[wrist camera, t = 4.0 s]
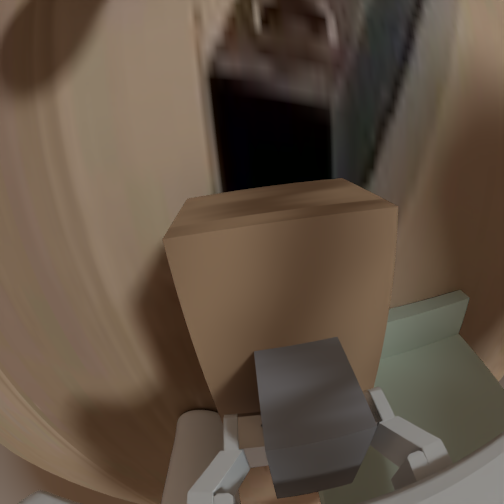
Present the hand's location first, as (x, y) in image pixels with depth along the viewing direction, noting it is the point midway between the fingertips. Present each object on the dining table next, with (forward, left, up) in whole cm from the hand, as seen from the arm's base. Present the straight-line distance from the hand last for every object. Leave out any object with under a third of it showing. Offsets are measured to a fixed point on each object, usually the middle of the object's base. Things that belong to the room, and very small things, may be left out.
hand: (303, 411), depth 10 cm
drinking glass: (+8, +15, -10) cm, 20 cm away
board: (-9, +7, -10) cm, 15 cm away
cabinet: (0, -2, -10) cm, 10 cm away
